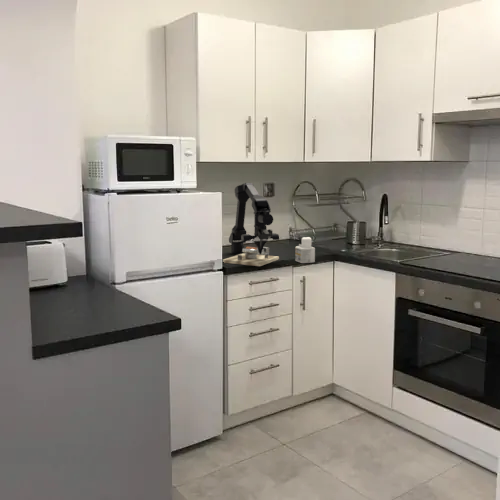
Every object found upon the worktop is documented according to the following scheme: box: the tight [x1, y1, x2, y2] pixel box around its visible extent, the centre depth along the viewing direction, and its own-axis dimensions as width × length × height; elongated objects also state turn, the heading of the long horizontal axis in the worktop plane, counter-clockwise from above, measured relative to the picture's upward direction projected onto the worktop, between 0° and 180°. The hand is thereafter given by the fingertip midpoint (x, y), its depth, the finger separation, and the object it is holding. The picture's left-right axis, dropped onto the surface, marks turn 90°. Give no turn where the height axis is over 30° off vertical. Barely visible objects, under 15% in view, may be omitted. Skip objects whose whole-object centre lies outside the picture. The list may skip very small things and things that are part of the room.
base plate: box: [222, 253, 280, 267], centre depth 291 cm, size 22×22×5 cm
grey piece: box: [242, 246, 270, 256], centre depth 288 cm, size 16×9×4 cm, turn 50°
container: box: [294, 236, 316, 264], centre depth 288 cm, size 8×8×13 cm
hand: (260, 253), depth 282 cm, fingers closed
